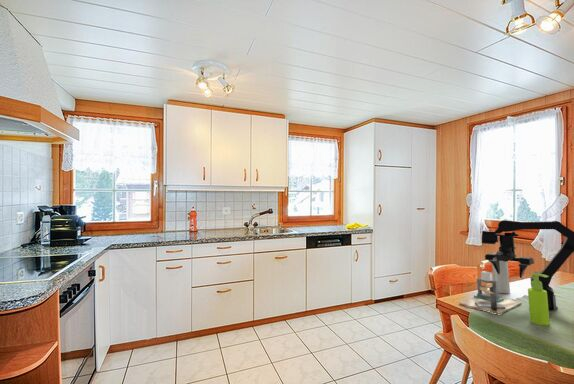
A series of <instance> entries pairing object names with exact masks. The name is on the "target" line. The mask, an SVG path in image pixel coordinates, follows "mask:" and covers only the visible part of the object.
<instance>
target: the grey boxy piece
mask: <svg viewBox="0 0 574 384" xmlns="http://www.w3.org/2000/svg"><path fill="white" fill-rule="evenodd" d="M482 282H483V283H486V284H488V283H492V284H494V294H496V300H497V299H499V298H501V297H500V294H499V293H500V292H498V281H493V271H491V272H490V271H484V270H482V271H480V278H479V277H478V278H476V283H477V284H476V286H477V293H476V294H477V296H482V297H486V298H490V296H489V295H487V294H486V293H484V292H483V291H481V290H480V286H482Z"/></svg>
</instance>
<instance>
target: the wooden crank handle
mask: <svg viewBox="0 0 574 384" xmlns="http://www.w3.org/2000/svg"><path fill="white" fill-rule="evenodd" d="M480 290H481V291H482V293H486V294H487V295H489V296H490V300H491V310H494V311H497V301H496V294H494V284H492V283H485V284H481V286H480Z"/></svg>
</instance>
